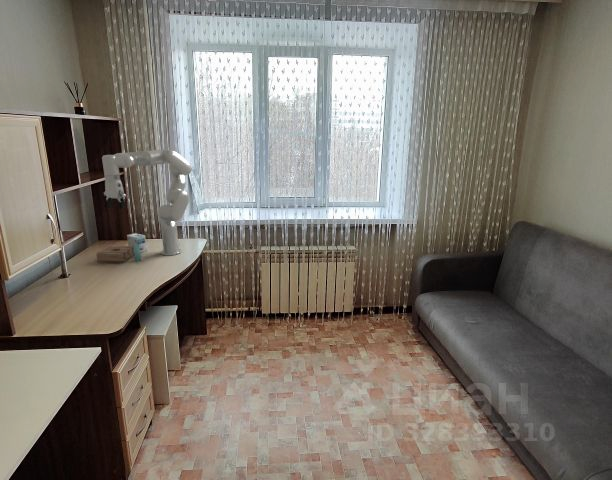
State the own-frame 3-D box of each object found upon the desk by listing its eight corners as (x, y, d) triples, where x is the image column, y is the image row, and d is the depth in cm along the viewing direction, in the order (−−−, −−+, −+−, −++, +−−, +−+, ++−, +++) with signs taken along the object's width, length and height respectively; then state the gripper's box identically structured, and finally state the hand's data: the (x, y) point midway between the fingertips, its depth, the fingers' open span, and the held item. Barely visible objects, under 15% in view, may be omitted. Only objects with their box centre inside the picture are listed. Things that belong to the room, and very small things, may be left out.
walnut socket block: (111, 254, 256) (110, 245, 255) (135, 255, 255) (134, 246, 254) (97, 262, 241) (96, 253, 239) (123, 263, 240) (121, 254, 238)
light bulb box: (147, 250, 264) (145, 235, 261) (138, 253, 259) (136, 237, 256) (137, 248, 270) (135, 232, 266) (128, 250, 264) (126, 235, 261)
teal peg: (137, 260, 246) (135, 244, 243) (142, 260, 246) (140, 244, 243) (134, 261, 243) (132, 246, 240) (139, 261, 243) (137, 246, 240)
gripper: (128, 177, 220) (132, 208, 225) (108, 176, 228) (112, 205, 233) (116, 179, 214) (120, 210, 219) (96, 177, 222) (100, 207, 227)
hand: (116, 207), depth 226 cm, fingers open, 9 cm apart
